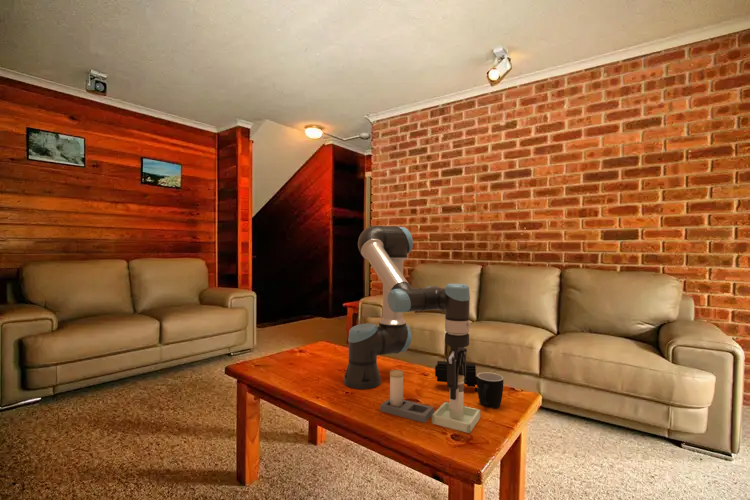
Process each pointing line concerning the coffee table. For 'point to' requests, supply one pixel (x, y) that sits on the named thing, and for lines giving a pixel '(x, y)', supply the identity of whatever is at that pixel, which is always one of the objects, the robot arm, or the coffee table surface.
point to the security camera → (470, 377)
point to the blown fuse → (460, 412)
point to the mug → (490, 389)
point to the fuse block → (404, 401)
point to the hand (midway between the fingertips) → (456, 405)
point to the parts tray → (462, 424)
